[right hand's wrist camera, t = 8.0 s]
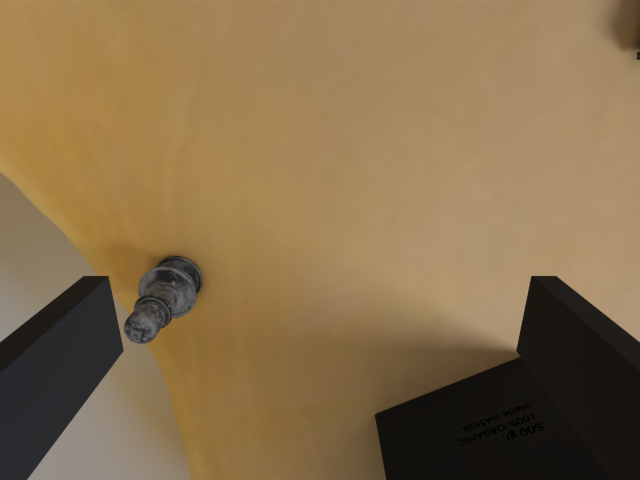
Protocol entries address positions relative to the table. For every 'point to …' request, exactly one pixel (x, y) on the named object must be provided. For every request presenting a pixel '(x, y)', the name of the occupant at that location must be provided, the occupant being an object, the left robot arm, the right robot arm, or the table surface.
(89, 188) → the table surface
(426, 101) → the table surface
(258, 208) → the table surface
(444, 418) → the cardboard box
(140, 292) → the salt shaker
